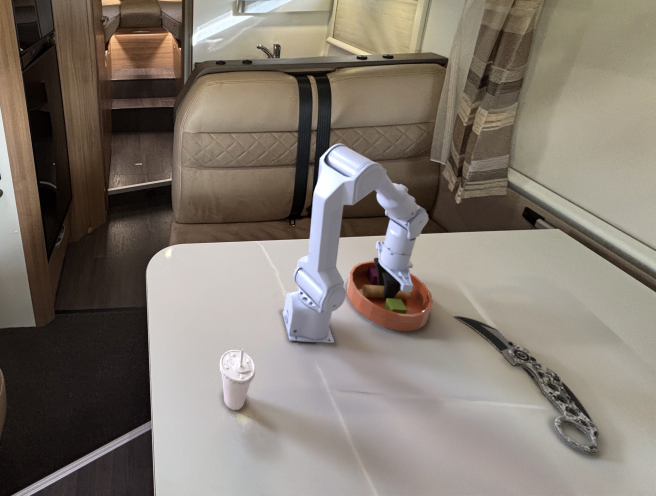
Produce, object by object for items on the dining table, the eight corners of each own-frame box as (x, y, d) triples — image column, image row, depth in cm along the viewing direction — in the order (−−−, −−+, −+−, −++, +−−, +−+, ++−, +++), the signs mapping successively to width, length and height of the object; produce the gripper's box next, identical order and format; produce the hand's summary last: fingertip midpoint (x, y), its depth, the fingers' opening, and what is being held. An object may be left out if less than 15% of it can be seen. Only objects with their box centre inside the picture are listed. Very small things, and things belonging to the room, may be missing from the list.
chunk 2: (389, 319, 97) (392, 309, 96) (383, 308, 100) (386, 298, 99) (404, 320, 97) (407, 310, 96) (397, 309, 100) (400, 298, 99)
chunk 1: (371, 285, 107) (374, 276, 106) (366, 276, 110) (369, 266, 108) (384, 286, 106) (387, 276, 105) (379, 277, 109) (382, 267, 108)
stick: (365, 299, 102) (368, 291, 101) (361, 290, 105) (363, 282, 104) (408, 302, 102) (411, 294, 100) (403, 292, 104) (406, 284, 103)
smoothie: (244, 424, 77) (250, 371, 72) (211, 405, 80) (215, 353, 75) (255, 394, 82) (262, 342, 77) (224, 378, 85) (229, 326, 80)
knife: (453, 313, 98) (496, 310, 98) (452, 318, 98) (494, 315, 98) (571, 452, 72) (630, 448, 72) (568, 457, 72) (626, 453, 72)
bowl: (362, 330, 95) (366, 313, 94) (336, 274, 111) (340, 259, 109) (442, 335, 94) (448, 318, 92) (405, 278, 110) (410, 263, 108)
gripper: (433, 270, 90) (418, 317, 96) (401, 227, 104) (389, 271, 109) (398, 268, 91) (385, 315, 96) (371, 226, 104) (361, 269, 110)
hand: (385, 291), depth 103 cm, fingers closed on stick, 3 cm apart
